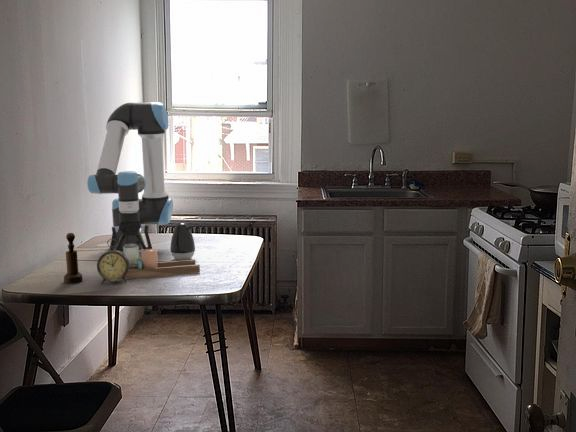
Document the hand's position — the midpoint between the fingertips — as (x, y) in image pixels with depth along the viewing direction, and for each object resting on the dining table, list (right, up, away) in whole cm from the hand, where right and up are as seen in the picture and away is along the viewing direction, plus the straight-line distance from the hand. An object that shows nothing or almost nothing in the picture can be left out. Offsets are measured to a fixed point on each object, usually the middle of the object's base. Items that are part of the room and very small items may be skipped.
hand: (131, 268), depth 268 cm
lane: (+12, -1, -6) cm, 14 cm away
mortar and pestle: (-17, -3, -18) cm, 25 cm away
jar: (0, 0, 0) cm, 0 cm away
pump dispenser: (+18, +3, +17) cm, 25 cm away
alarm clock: (-2, -4, -20) cm, 21 cm away
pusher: (+2, -1, -10) cm, 10 cm away
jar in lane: (+9, -1, -7) cm, 11 cm away
